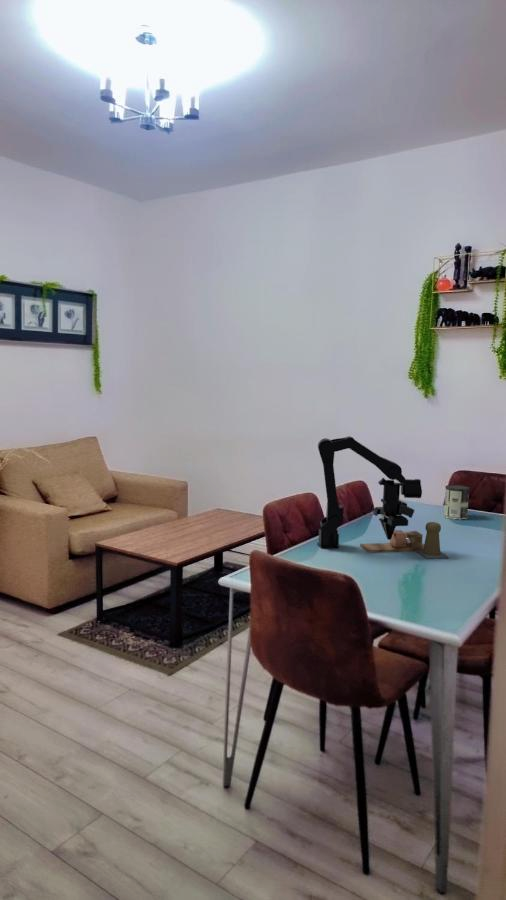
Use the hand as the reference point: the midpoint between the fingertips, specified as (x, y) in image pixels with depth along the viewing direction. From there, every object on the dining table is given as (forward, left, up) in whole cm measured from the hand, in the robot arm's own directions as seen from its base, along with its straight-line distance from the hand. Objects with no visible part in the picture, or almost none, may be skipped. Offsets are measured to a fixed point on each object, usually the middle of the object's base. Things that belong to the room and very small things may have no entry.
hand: (389, 539), depth 215 cm
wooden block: (+6, 0, -2) cm, 7 cm away
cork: (+12, -9, -3) cm, 16 cm away
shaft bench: (+3, 0, -4) cm, 4 cm away
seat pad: (+13, -9, -4) cm, 16 cm away
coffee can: (+51, +46, -4) cm, 69 cm away
